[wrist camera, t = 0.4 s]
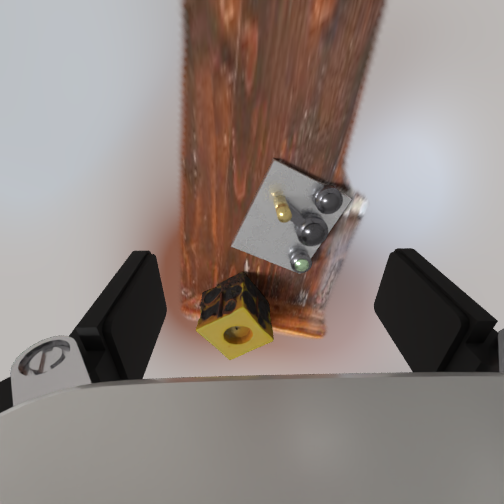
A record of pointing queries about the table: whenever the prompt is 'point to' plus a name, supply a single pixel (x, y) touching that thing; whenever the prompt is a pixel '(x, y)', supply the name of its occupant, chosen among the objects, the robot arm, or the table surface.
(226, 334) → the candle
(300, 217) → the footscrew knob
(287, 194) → the plate
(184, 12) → the table surface
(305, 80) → the table surface
